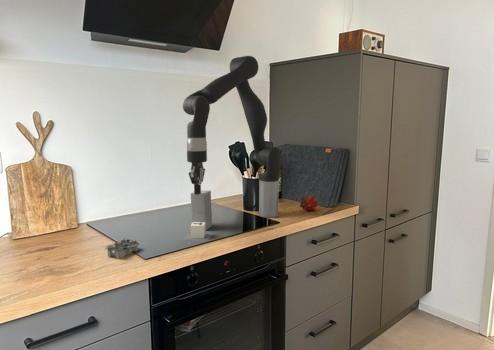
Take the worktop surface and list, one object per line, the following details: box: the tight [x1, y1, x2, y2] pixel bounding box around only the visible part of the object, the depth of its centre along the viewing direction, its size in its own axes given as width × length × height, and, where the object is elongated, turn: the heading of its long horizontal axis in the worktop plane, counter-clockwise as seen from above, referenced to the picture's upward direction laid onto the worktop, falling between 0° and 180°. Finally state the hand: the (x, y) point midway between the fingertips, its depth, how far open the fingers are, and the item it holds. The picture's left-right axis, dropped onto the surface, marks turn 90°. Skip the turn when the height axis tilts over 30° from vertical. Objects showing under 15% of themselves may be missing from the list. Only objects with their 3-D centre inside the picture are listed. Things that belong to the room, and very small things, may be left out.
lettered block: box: [190, 222, 206, 238], centre depth 143 cm, size 5×5×5 cm
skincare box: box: [190, 189, 213, 231], centre depth 154 cm, size 8×7×16 cm
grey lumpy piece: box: [104, 237, 141, 259], centre depth 125 cm, size 11×8×4 cm
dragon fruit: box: [299, 195, 319, 212], centre depth 185 cm, size 8×8×12 cm
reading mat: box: [181, 231, 215, 242], centre depth 143 cm, size 10×10×1 cm
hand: (197, 194), depth 141 cm, fingers closed
